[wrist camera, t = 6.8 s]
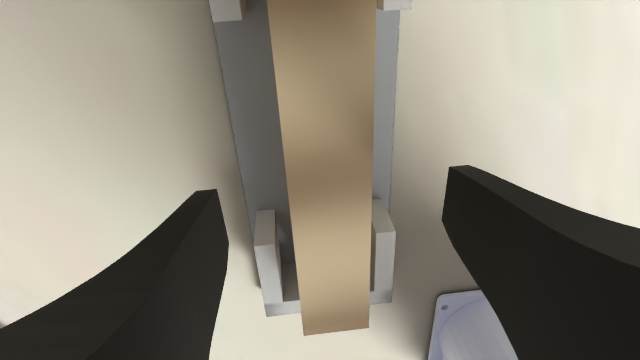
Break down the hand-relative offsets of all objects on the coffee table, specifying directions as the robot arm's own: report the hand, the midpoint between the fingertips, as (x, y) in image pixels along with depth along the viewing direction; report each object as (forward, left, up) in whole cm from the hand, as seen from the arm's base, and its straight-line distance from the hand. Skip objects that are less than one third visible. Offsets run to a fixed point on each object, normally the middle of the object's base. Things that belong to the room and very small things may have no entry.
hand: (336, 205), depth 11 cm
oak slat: (0, 0, -8) cm, 8 cm away
